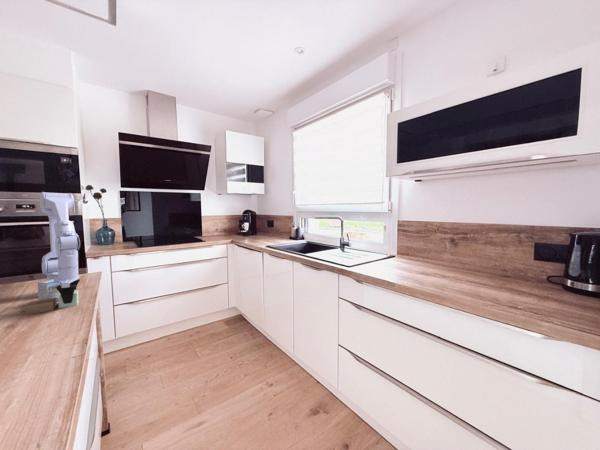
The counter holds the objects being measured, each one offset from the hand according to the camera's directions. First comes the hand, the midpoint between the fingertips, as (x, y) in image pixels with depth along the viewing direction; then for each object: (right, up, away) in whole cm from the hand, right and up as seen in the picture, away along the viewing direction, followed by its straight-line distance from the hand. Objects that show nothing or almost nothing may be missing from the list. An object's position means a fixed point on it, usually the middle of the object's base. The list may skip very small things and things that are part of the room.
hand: (69, 300), depth 95 cm
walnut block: (-6, -2, -4) cm, 8 cm away
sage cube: (0, -2, 0) cm, 2 cm away
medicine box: (-10, -1, +4) cm, 10 cm away
